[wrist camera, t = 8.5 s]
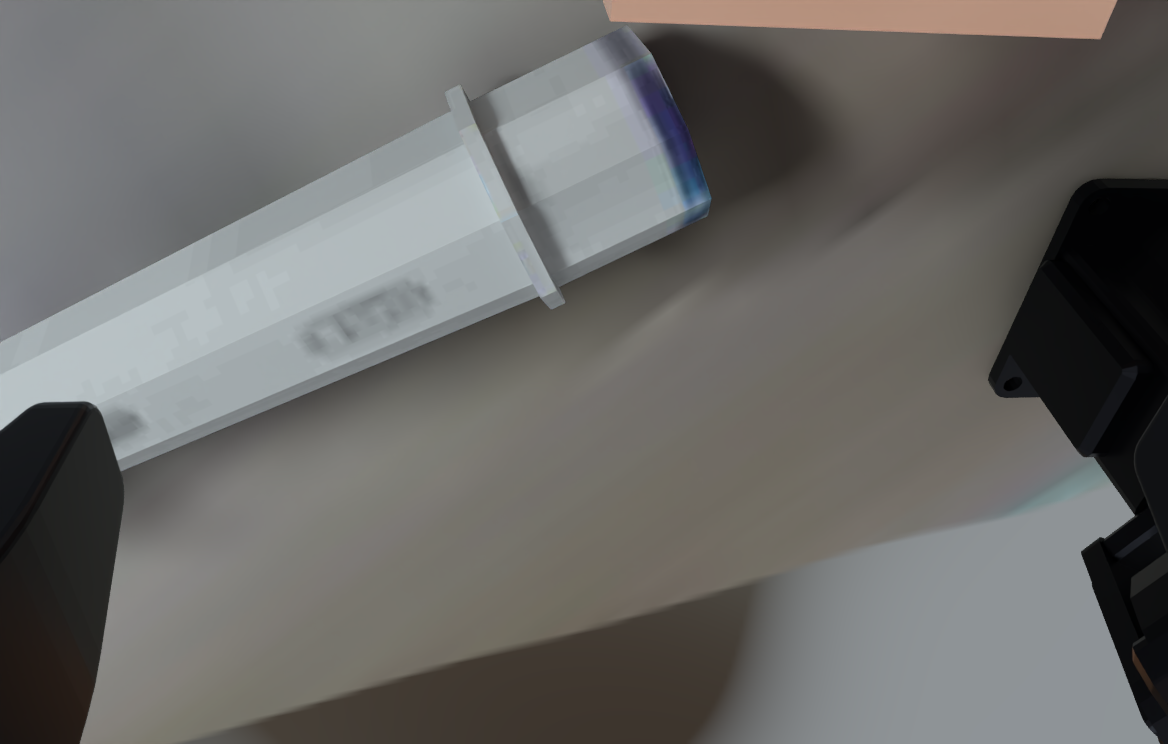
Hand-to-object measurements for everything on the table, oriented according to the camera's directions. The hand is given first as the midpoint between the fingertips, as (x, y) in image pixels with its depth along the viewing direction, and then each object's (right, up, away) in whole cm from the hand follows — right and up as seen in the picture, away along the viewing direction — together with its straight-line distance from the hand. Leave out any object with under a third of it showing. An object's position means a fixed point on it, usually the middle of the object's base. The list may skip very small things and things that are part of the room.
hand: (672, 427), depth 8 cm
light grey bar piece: (-11, +2, +14) cm, 18 cm away
